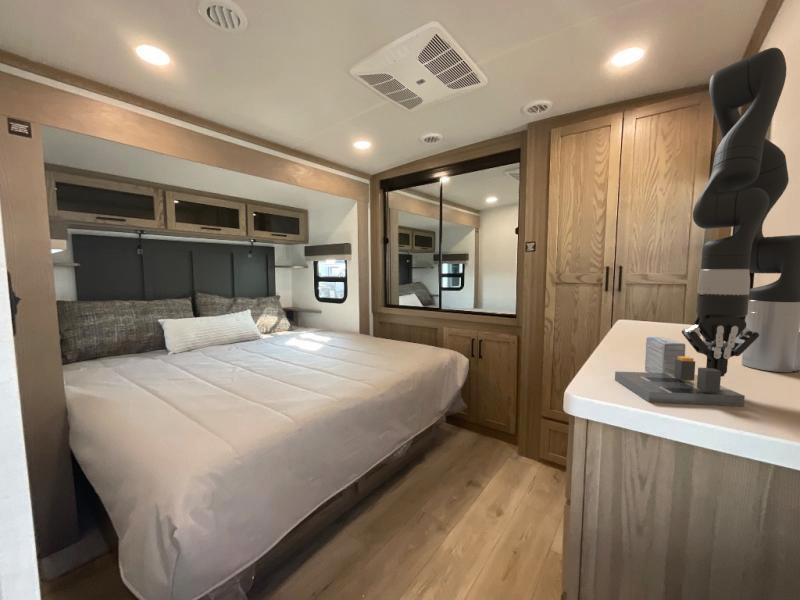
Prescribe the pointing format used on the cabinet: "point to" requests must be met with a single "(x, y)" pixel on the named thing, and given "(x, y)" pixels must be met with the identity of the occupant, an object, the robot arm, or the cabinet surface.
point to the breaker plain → (709, 379)
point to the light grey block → (662, 354)
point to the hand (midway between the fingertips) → (715, 375)
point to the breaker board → (675, 389)
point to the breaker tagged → (684, 368)
